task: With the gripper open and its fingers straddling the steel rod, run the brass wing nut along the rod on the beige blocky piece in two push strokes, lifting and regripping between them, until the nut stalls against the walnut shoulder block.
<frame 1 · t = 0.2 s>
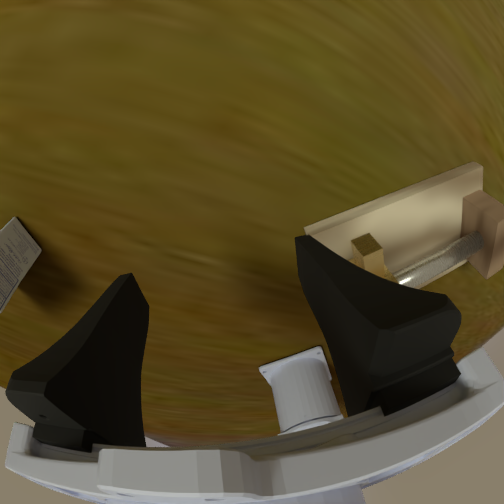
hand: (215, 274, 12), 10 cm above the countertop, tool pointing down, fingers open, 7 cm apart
threaded rod: (421, 271, 21), point 4 cm above the countertop
medicine box: (13, 250, 20), on the countertop
wing nut: (372, 294, 22), point 4 cm above the countertop, slide at 0.0 cm
beige blocky piece: (408, 241, 25), on the countertop
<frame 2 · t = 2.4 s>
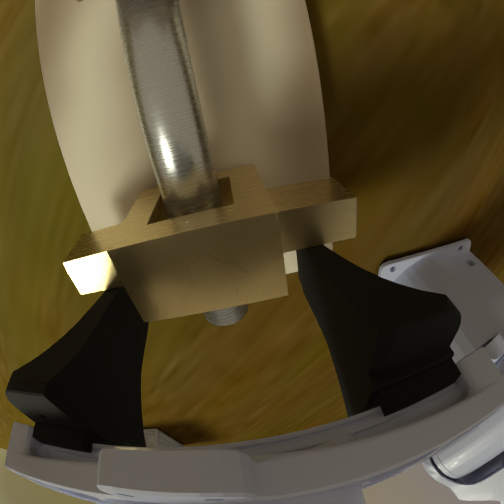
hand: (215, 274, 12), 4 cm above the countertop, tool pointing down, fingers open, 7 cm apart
threaded rod: (175, 133, 8), point 4 cm above the countertop
medicine box: (158, 436, 31), on the countertop
wing nut: (202, 234, 10), point 4 cm above the countertop, slide at 1.4 cm, touching gripper
beige blocky piece: (181, 96, 11), on the countertop
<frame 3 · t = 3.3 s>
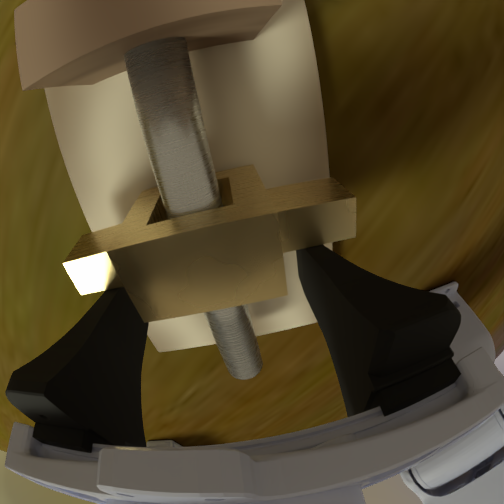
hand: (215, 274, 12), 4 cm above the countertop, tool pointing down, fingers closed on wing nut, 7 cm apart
threaded rod: (207, 252, 11), point 4 cm above the countertop
wing nut: (202, 234, 10), point 4 cm above the countertop, slide at 6.1 cm, touching gripper
beige blocky piece: (202, 185, 14), on the countertop
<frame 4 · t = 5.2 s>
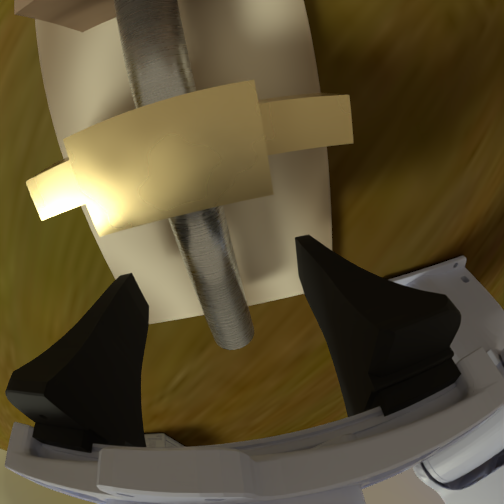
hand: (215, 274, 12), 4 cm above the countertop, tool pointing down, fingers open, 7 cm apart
threaded rod: (187, 183, 9), point 4 cm above the countertop
medicine box: (165, 440, 32), on the countertop
wing nut: (176, 143, 8), point 4 cm above the countertop, slide at 6.7 cm
beige blocky piece: (189, 131, 12), on the countertop
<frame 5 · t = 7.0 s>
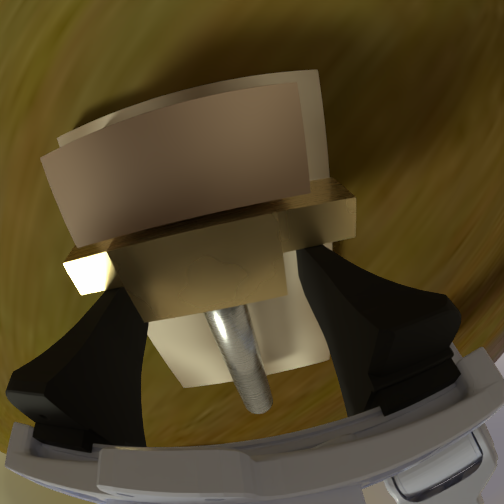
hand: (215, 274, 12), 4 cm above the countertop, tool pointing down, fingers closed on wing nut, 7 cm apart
threaded rod: (235, 336, 14), point 4 cm above the countertop
wing nut: (202, 234, 10), point 4 cm above the countertop, slide at 11.2 cm, touching gripper
beige blocky piece: (225, 267, 16), on the countertop
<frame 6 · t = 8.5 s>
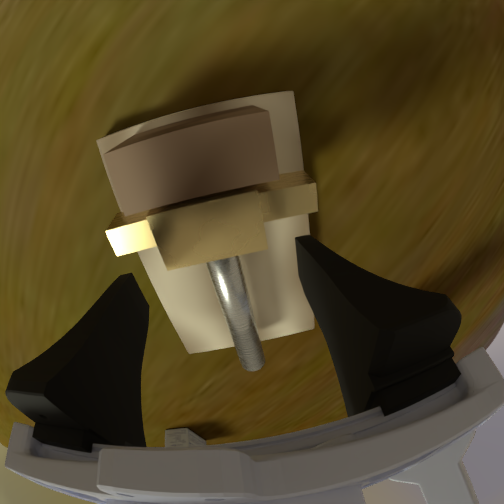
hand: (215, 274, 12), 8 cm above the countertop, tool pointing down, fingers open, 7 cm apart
threaded rod: (232, 294, 18), point 4 cm above the countertop
medicine box: (186, 434, 41), on the countertop
wing nut: (209, 210, 15), point 4 cm above the countertop, slide at 11.2 cm
beige blocky piece: (225, 243, 21), on the countertop
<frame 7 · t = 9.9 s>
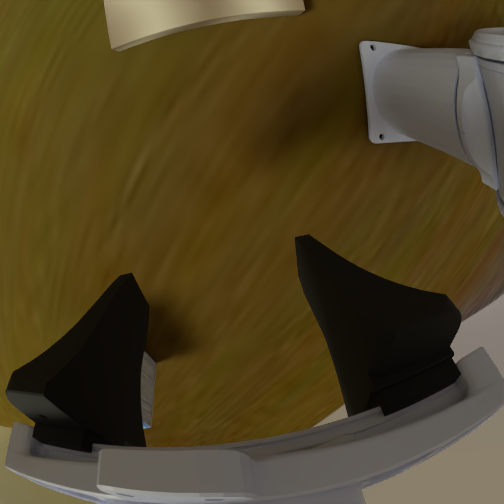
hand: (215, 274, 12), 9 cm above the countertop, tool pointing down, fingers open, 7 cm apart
medicine box: (124, 344, 27), on the countertop
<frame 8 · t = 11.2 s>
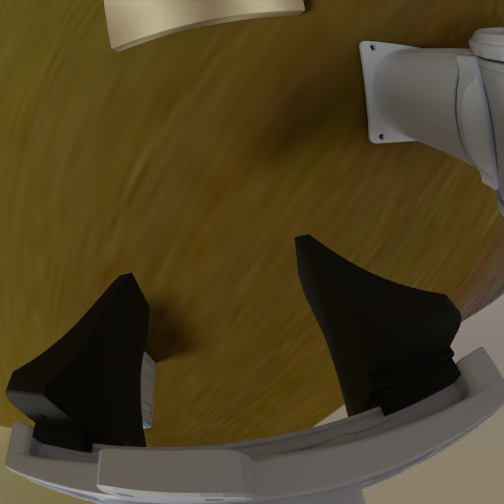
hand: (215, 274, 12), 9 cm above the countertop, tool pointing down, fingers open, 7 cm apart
medicine box: (124, 344, 27), on the countertop
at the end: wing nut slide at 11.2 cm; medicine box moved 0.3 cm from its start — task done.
